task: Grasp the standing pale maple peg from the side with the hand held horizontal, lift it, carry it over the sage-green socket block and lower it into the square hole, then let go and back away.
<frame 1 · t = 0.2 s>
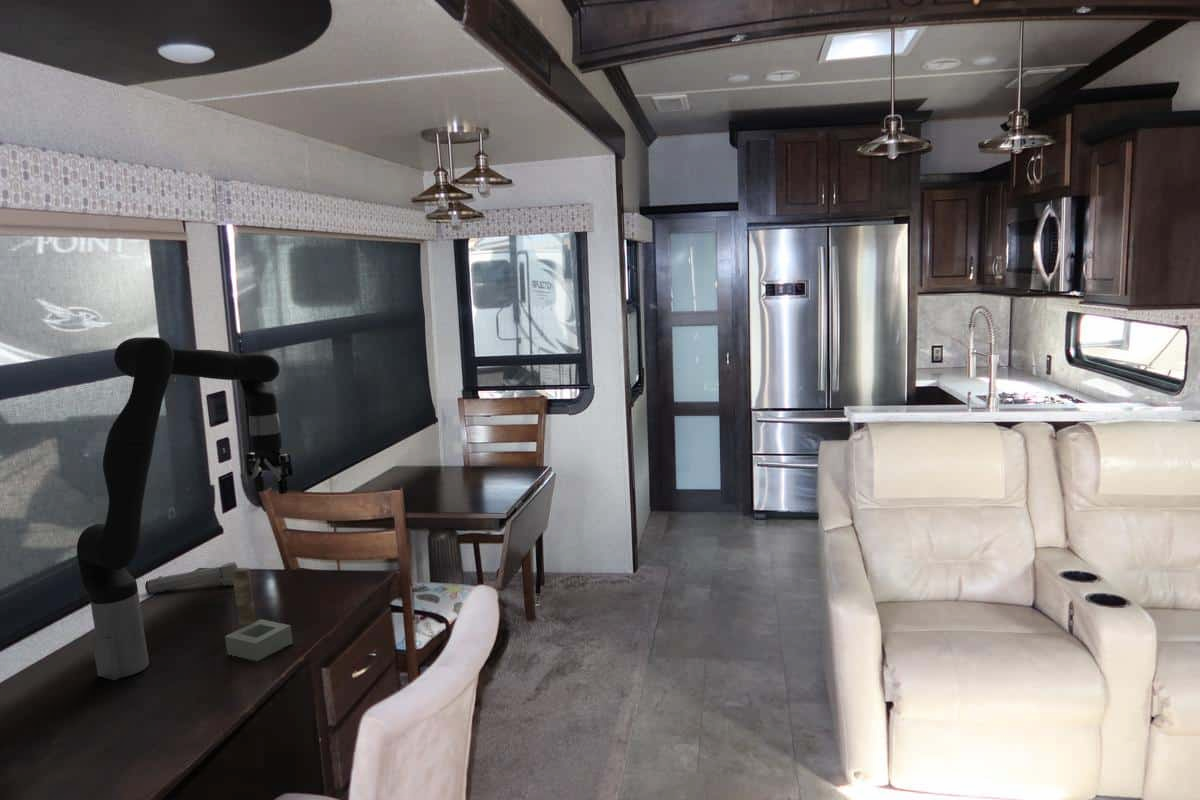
hand: (271, 492, 225), 29 cm above the table, tool pointing down, fingers open, 8 cm apart
socket: (260, 649, 197), on the table
toothbrush head: (196, 589, 240), on the table
peg: (248, 633, 206), on the table
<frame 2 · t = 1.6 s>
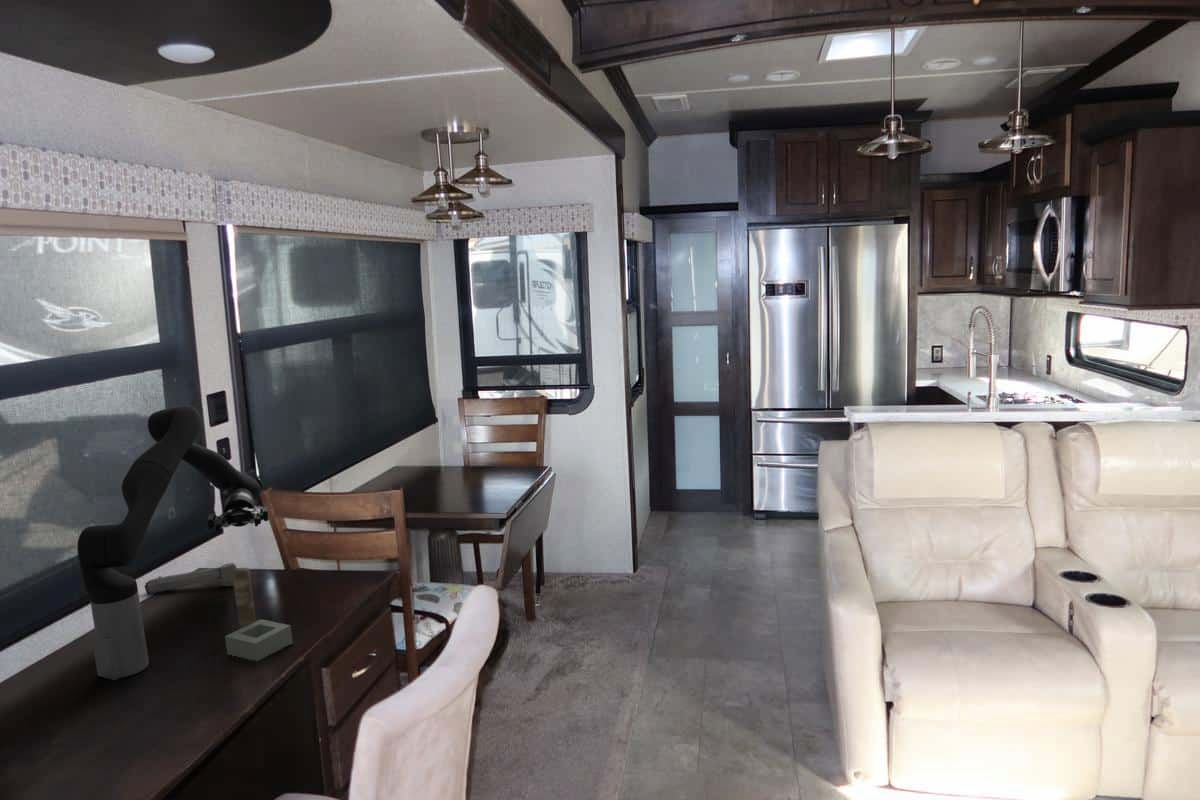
hand: (237, 525, 213), 24 cm above the table, tool horizontal, fingers open, 8 cm apart
nothing on the table moved.
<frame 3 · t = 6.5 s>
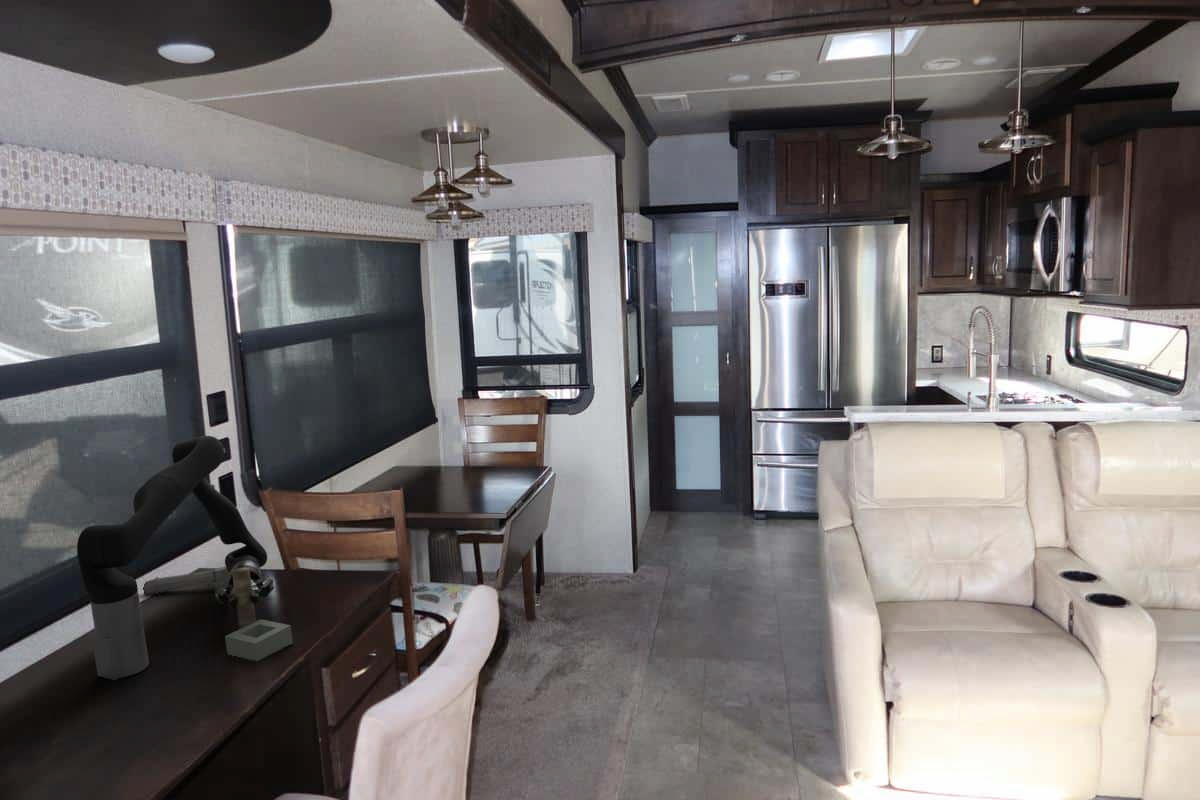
hand: (244, 602, 202), 9 cm above the table, tool horizontal, fingers closed on peg, 3 cm apart
toothbrush head: (191, 591, 238), on the table
peg: (248, 633, 206), on the table, touching gripper
when the fingers open (10 cm above the table, at t = 12.0 s): peg drops 1 cm, resting in socket.
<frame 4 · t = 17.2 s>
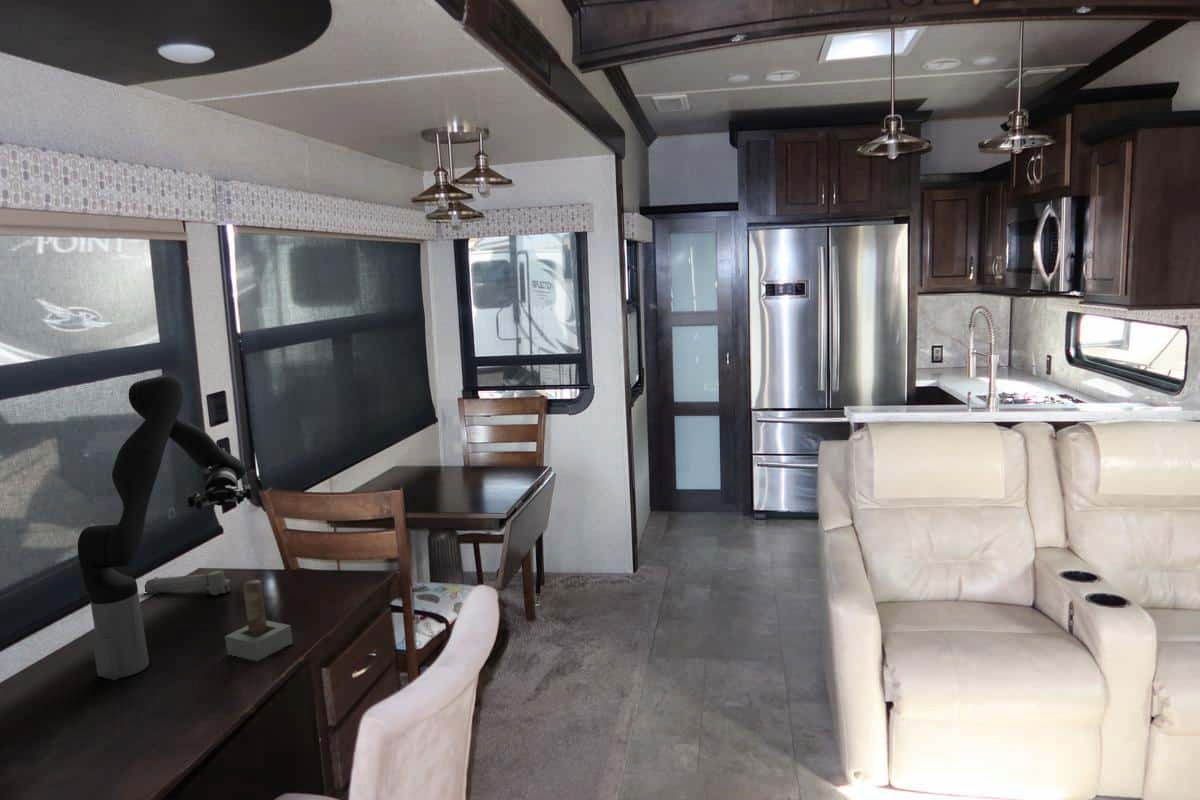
hand: (219, 502, 205), 32 cm above the table, tool horizontal, fingers open, 8 cm apart
toothbrush head: (187, 594, 236), on the table
peg: (260, 649, 197), resting in socket
at the end: peg 0.1 cm off-centre on the socket, point 0.0 cm above the socket's base; peg tilted 0°; the gripper is holding nothing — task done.
